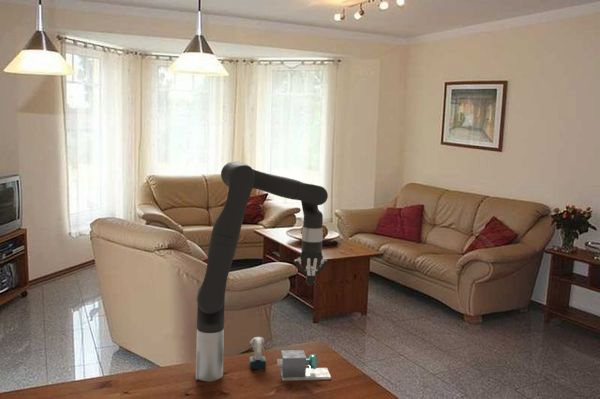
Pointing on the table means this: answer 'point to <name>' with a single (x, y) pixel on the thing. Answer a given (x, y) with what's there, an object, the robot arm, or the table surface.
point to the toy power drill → (257, 354)
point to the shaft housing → (300, 367)
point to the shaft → (309, 362)
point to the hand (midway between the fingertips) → (310, 284)
